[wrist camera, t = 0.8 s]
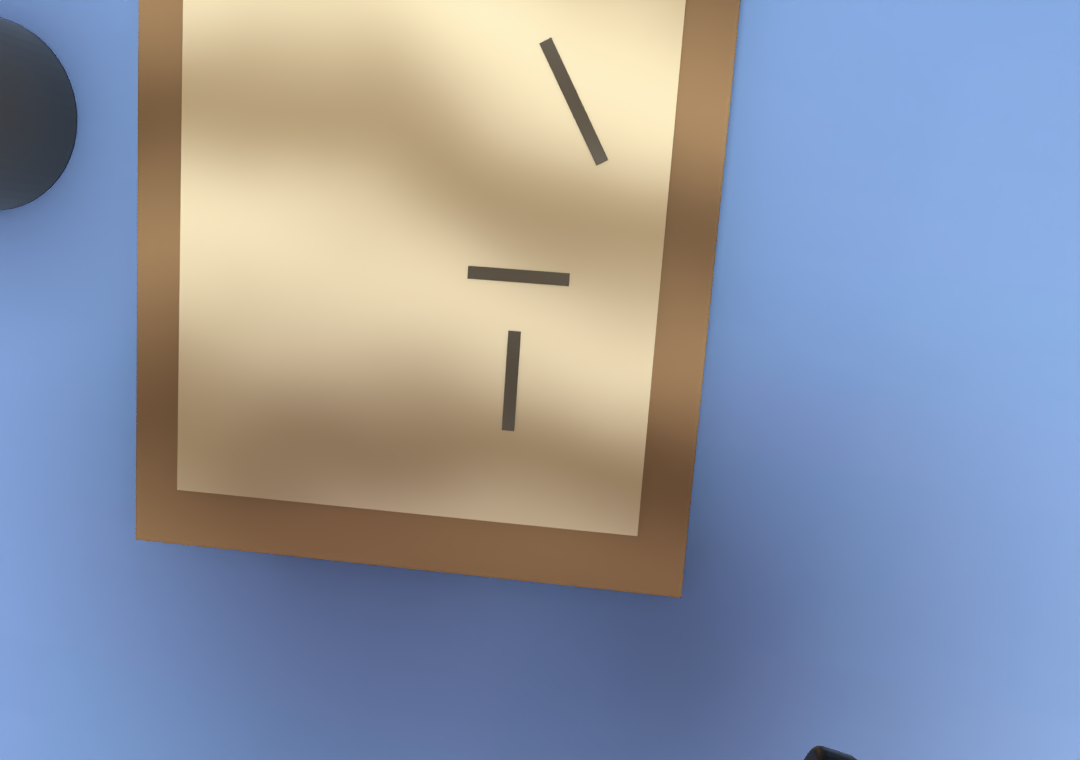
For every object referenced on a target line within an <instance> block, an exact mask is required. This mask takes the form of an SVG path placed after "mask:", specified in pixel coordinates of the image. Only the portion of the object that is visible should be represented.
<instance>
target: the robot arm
mask: <svg viewBox="0 0 1080 760" xmlns="http://www.w3.org/2000/svg"><path fill="white" fill-rule="evenodd" d="M804 760H857V759H856V758H854V757H853V756H851V755H848V754H845V753H842V752H839V751H836V750H833V749H830V748H827V747H824V746H816V747H814V748H812V749H811V750H810V752H809V753H808V754H807V756H806V757H805V759H804Z"/></svg>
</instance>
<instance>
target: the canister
mask: <svg viewBox="0 0 1080 760" xmlns="http://www.w3.org/2000/svg"><path fill="white" fill-rule="evenodd" d="M76 126H77V115H76V104H75V99H74V94H73V91H72V87H71V84H70V81H69V79H68V77H67V74H66V72H65V70H64V68H63V67H62V65H61V63H60V62H59V60H58V58H57V57H56V56H55V54H54V53H53V52H52V51H51V49H50V48H49V47H48V46H47V45H46V44H45V43H44V42H43V41H42V40H41V39H40V38H39V37H37V36H36V35H35V34H33V33H32V32H31V31H29V30H28V29H26V28H24V27H23V26H21V25H19V24H16V23H14V22H12V21H9V20H7V19H4V18H1V17H0V210H5V209H12V208H15V207H19V206H22V205H24V204H27V203H29V202H31V201H33V200H35V199H36V198H38V197H39V196H41V195H42V194H43V193H45V192H46V191H47V190H48V189H49V188H50V187H51V186H52V185H53V184H54V183H55V182H56V180H57V179H58V178H59V177H60V175H61V173H62V172H63V170H64V169H65V167H66V165H67V163H68V160H69V158H70V156H71V153H72V149H73V146H74V142H75V136H76Z"/></svg>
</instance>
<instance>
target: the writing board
mask: <svg viewBox="0 0 1080 760" xmlns="http://www.w3.org/2000/svg"><path fill="white" fill-rule="evenodd" d="M739 9H740V0H139V45H138V236H137V426H136V540H145V541H155V542H164V543H173V544H183V545H192V546H202V547H211V548H220V549H230V550H239V551H248V552H258V553H267V554H277V555H286V556H295V557H305V558H314V559H323V560H333V561H342V562H352V563H361V564H370V565H380V566H389V567H398V568H408V569H417V570H427V571H436V572H445V573H455V574H464V575H473V576H483V577H492V578H502V579H511V580H520V581H530V582H539V583H548V584H558V585H567V586H577V587H586V588H595V589H605V590H614V591H623V592H633V593H642V594H652V595H661V596H670V597H680V598H681V594H682V584H683V574H684V564H685V554H686V544H687V534H688V523H689V513H690V503H691V493H692V483H693V473H694V463H695V453H696V443H697V433H698V423H699V412H700V402H701V392H702V382H703V372H704V362H705V352H706V342H707V332H708V322H709V312H710V302H711V291H712V281H713V271H714V261H715V251H716V241H717V231H718V221H719V211H720V201H721V191H722V181H723V170H724V160H725V150H726V140H727V130H728V120H729V110H730V100H731V90H732V80H733V70H734V59H735V49H736V39H737V29H738V19H739Z"/></svg>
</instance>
